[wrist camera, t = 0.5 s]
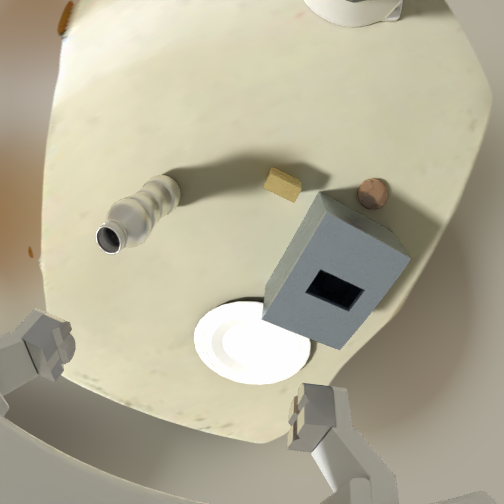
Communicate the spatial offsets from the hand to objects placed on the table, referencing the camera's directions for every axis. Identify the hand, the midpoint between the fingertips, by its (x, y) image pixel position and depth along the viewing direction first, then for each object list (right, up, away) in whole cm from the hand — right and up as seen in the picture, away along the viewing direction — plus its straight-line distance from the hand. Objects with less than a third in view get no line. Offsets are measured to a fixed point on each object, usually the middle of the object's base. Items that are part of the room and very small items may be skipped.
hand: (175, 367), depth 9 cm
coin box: (+16, +2, +44) cm, 47 cm away
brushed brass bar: (+7, +15, +39) cm, 42 cm away
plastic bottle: (-12, +14, +42) cm, 46 cm away
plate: (+3, -16, +56) cm, 58 cm away
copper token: (+22, +13, +38) cm, 46 cm away
